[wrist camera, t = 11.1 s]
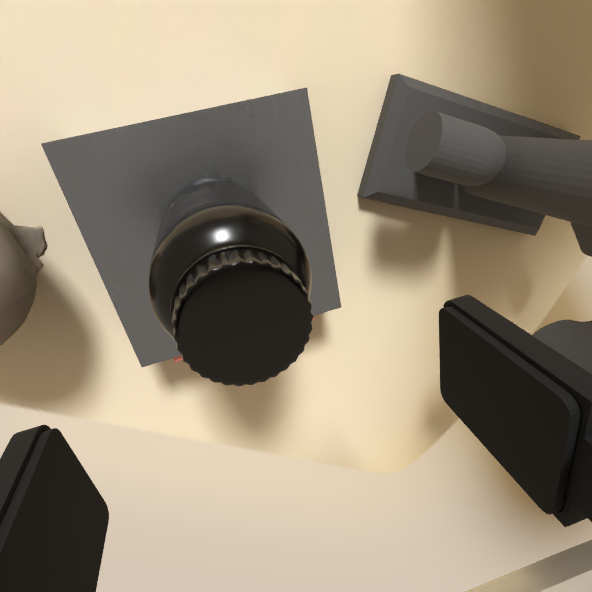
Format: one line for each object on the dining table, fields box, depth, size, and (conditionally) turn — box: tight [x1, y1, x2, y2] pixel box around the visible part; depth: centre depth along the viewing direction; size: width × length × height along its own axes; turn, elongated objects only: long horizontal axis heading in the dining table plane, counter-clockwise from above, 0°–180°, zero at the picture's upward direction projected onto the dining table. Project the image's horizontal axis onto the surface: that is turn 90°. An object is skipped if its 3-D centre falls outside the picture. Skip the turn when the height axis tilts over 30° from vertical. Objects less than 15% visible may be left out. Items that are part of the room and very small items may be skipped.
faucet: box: [358, 74, 592, 374], centre depth 24 cm, size 18×16×20 cm
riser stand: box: [41, 88, 341, 367], centre depth 26 cm, size 14×15×5 cm
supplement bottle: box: [148, 181, 313, 386], centre depth 19 cm, size 7×7×12 cm
